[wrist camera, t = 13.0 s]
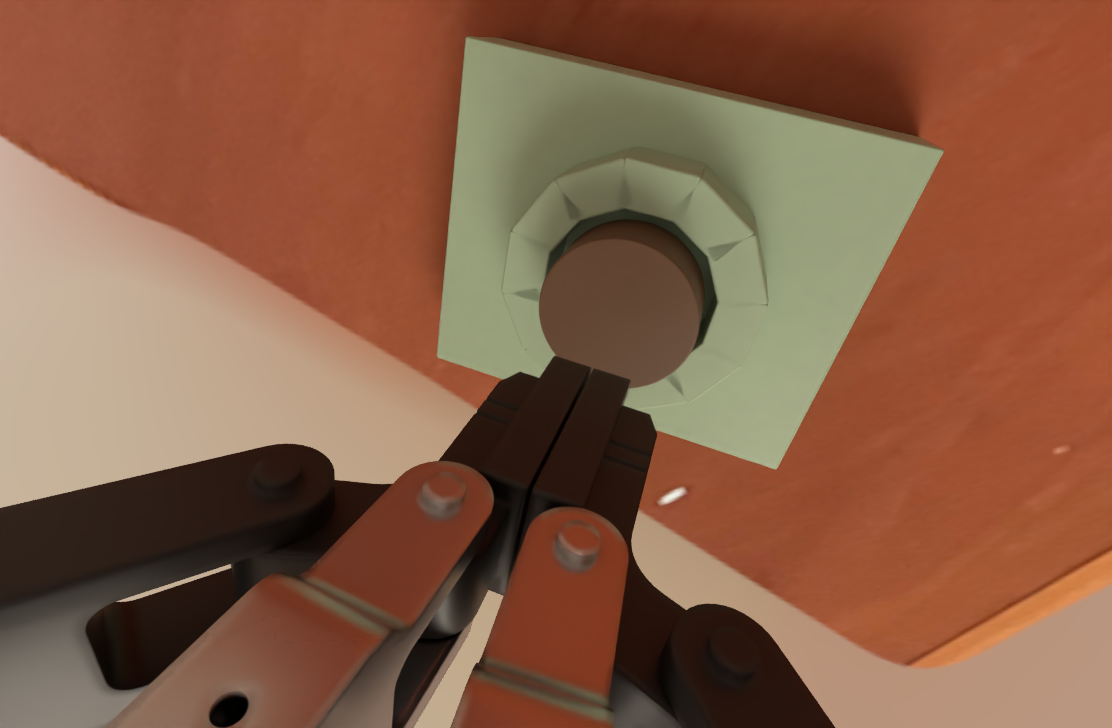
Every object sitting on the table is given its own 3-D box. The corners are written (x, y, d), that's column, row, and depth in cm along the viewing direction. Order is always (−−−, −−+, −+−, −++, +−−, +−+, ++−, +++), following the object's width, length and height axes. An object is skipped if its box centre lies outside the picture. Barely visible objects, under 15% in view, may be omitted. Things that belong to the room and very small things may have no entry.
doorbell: (921, 137, 15) (970, 163, 12) (774, 432, 20) (779, 508, 17) (496, 37, 17) (433, 34, 13) (462, 331, 22) (410, 382, 19)
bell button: (726, 243, 14) (724, 265, 13) (678, 376, 16) (671, 409, 15) (573, 201, 15) (553, 217, 13) (546, 334, 17) (526, 362, 15)
